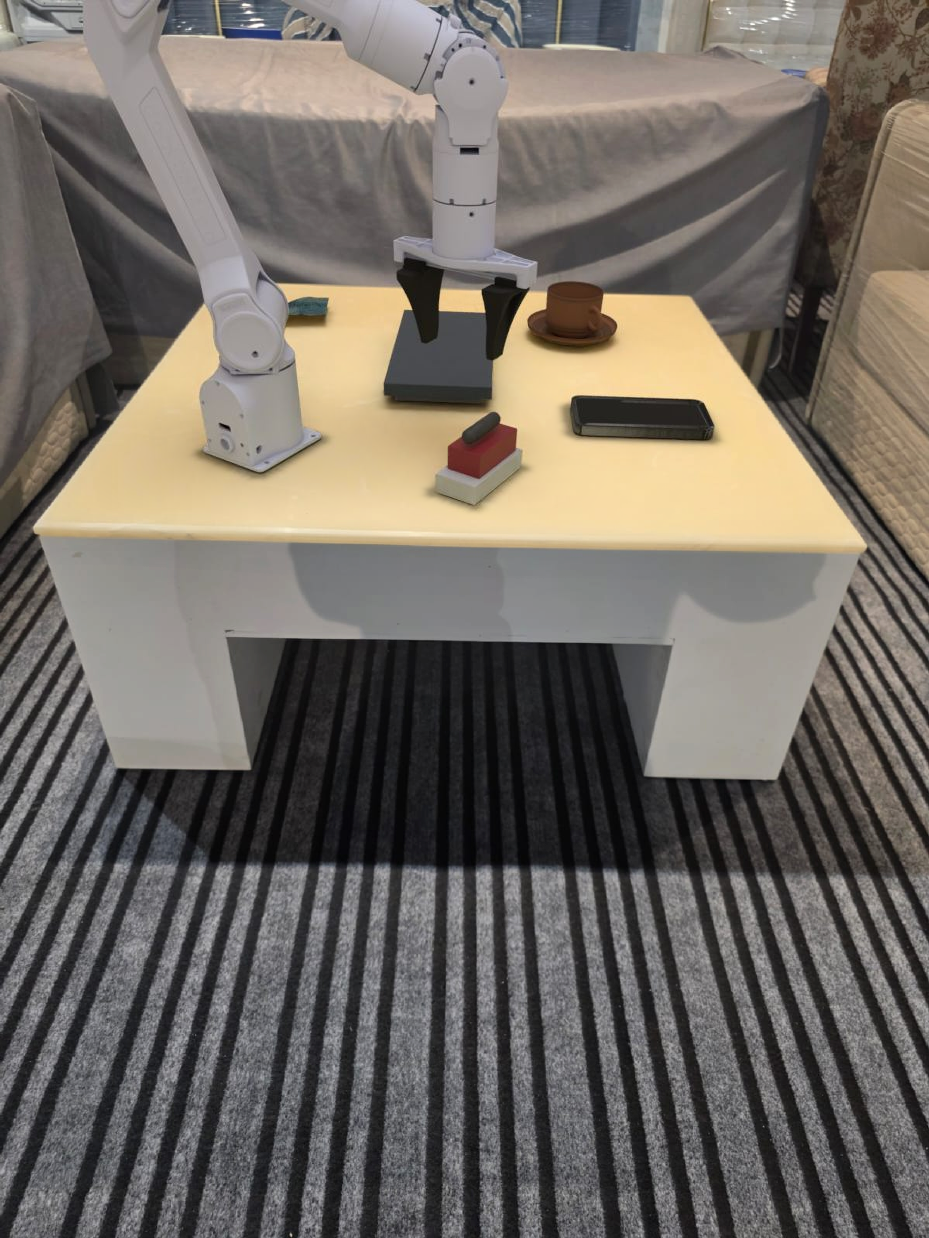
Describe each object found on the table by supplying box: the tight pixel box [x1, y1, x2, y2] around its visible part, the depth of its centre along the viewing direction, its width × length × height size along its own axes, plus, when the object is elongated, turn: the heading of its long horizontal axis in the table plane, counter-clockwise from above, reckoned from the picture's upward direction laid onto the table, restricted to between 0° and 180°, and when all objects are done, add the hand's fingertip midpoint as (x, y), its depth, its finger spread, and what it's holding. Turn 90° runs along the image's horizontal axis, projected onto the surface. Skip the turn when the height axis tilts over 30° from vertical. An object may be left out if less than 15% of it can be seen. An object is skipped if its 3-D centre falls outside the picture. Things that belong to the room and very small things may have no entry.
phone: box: [569, 394, 715, 440], centre depth 92 cm, size 8×1×15 cm
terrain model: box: [287, 296, 330, 317], centre depth 115 cm, size 13×8×2 cm, turn 97°
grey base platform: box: [383, 309, 494, 405], centre depth 102 cm, size 24×12×3 cm, turn 178°
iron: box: [435, 411, 523, 506], centre depth 80 cm, size 9×4×6 cm, turn 148°
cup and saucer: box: [526, 280, 618, 347], centre depth 111 cm, size 12×12×6 cm
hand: (461, 348), depth 83 cm, fingers open, 7 cm apart
